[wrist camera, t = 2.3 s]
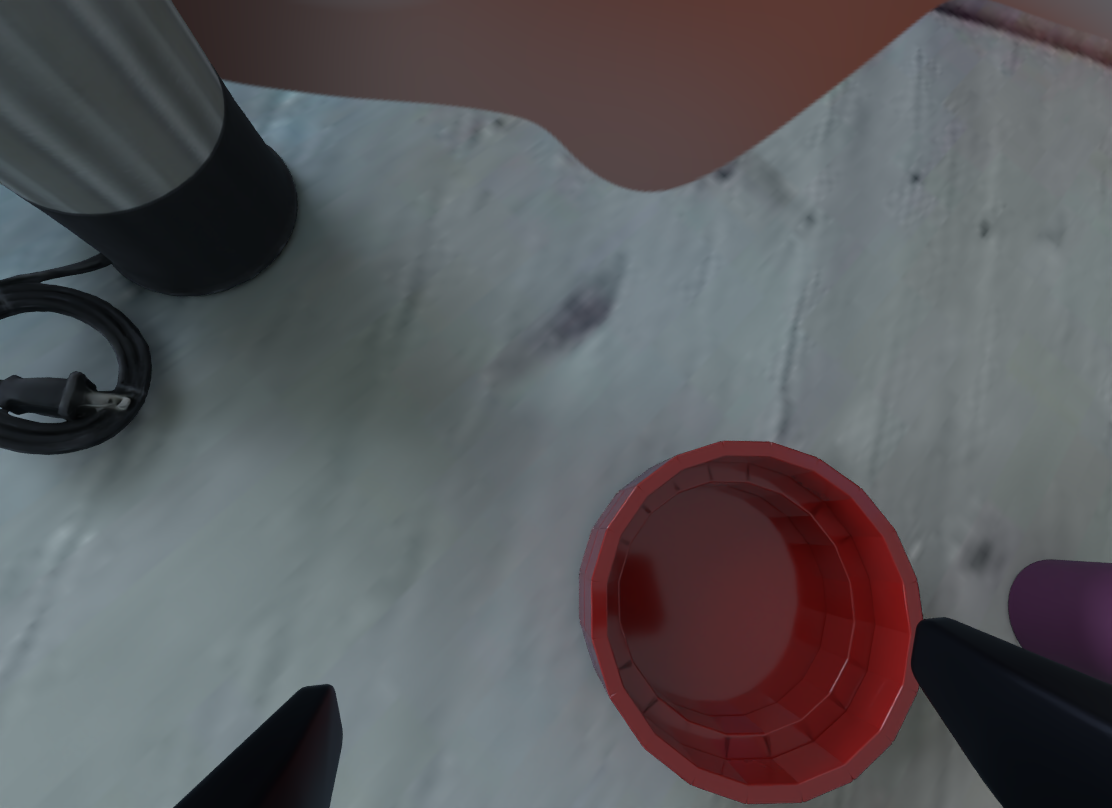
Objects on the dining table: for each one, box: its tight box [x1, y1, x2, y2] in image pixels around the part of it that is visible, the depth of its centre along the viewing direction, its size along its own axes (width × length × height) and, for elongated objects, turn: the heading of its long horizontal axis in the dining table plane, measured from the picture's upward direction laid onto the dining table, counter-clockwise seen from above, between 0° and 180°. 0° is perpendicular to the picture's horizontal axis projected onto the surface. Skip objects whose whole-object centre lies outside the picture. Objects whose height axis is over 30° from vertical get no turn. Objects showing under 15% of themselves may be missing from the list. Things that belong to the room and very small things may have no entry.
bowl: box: [579, 441, 923, 804], centre depth 21 cm, size 12×12×4 cm
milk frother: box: [0, 0, 298, 455], centre depth 18 cm, size 14×16×15 cm
